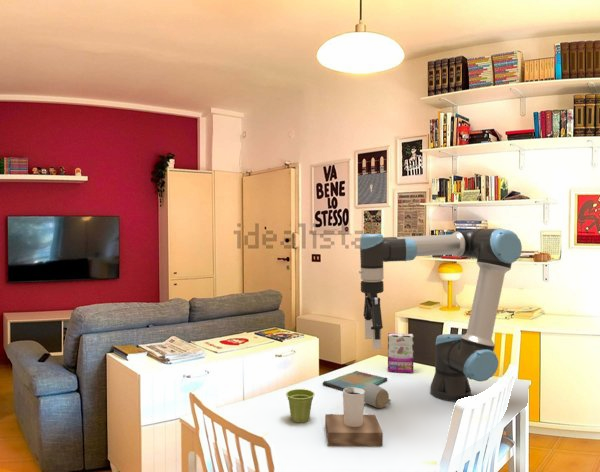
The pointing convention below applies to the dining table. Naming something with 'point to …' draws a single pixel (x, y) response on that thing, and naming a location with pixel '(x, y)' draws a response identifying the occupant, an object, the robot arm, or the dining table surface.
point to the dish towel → (354, 381)
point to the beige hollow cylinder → (353, 406)
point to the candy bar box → (400, 352)
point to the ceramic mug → (375, 395)
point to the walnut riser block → (353, 431)
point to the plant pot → (300, 404)
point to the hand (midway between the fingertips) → (372, 343)
